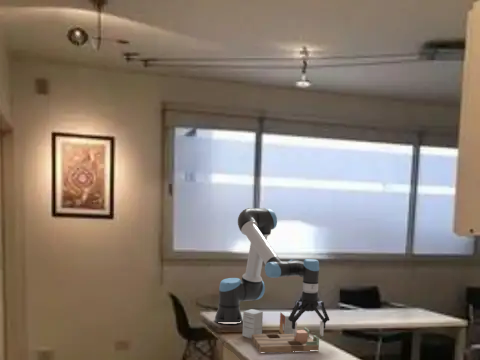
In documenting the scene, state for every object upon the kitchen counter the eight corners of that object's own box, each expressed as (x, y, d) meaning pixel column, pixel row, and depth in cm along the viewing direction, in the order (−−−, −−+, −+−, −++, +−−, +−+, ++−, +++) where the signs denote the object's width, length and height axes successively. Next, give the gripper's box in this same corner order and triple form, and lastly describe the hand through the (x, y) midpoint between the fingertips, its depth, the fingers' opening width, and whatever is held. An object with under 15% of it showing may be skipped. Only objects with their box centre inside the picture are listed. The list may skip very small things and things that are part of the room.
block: (294, 338, 239) (294, 330, 239) (303, 338, 240) (304, 329, 240) (297, 341, 234) (297, 333, 234) (307, 341, 235) (307, 332, 235)
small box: (279, 332, 259) (280, 312, 259) (289, 331, 260) (290, 311, 260) (284, 336, 251) (285, 316, 251) (294, 336, 252) (295, 315, 252)
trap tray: (251, 340, 242) (252, 328, 242) (305, 339, 248) (306, 327, 248) (260, 353, 225) (261, 339, 225) (318, 351, 230) (319, 338, 231)
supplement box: (250, 333, 255) (251, 308, 255) (262, 336, 250) (263, 311, 250) (241, 336, 249) (242, 311, 249) (253, 339, 244) (254, 313, 244)
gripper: (287, 293, 233) (285, 338, 233) (337, 293, 238) (335, 337, 238) (283, 289, 240) (281, 333, 240) (331, 289, 245) (329, 332, 245)
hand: (308, 335), depth 239 cm, fingers open, 13 cm apart
